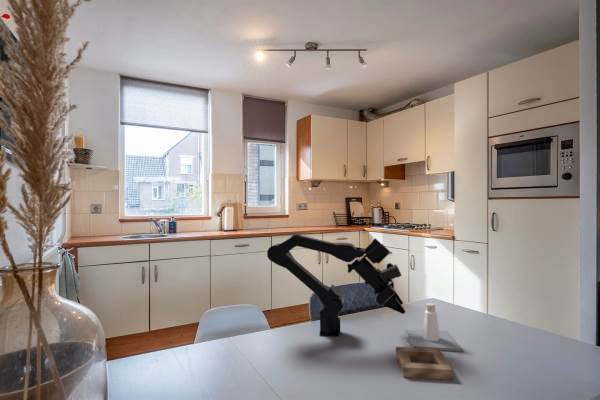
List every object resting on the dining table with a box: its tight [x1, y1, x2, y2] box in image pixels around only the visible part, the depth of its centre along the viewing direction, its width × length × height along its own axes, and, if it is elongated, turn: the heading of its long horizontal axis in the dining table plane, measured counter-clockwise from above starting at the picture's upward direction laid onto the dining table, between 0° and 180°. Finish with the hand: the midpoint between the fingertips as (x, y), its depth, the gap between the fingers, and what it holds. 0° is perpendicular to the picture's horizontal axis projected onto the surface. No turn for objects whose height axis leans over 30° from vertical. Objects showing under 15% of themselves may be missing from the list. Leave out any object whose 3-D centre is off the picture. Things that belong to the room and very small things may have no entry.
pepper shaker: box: [422, 302, 440, 341], centre depth 105 cm, size 5×5×11 cm
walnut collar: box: [395, 346, 454, 381], centre depth 88 cm, size 12×12×2 cm
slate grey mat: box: [404, 328, 463, 352], centre depth 105 cm, size 14×14×1 cm
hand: (403, 308), depth 108 cm, fingers open, 9 cm apart
